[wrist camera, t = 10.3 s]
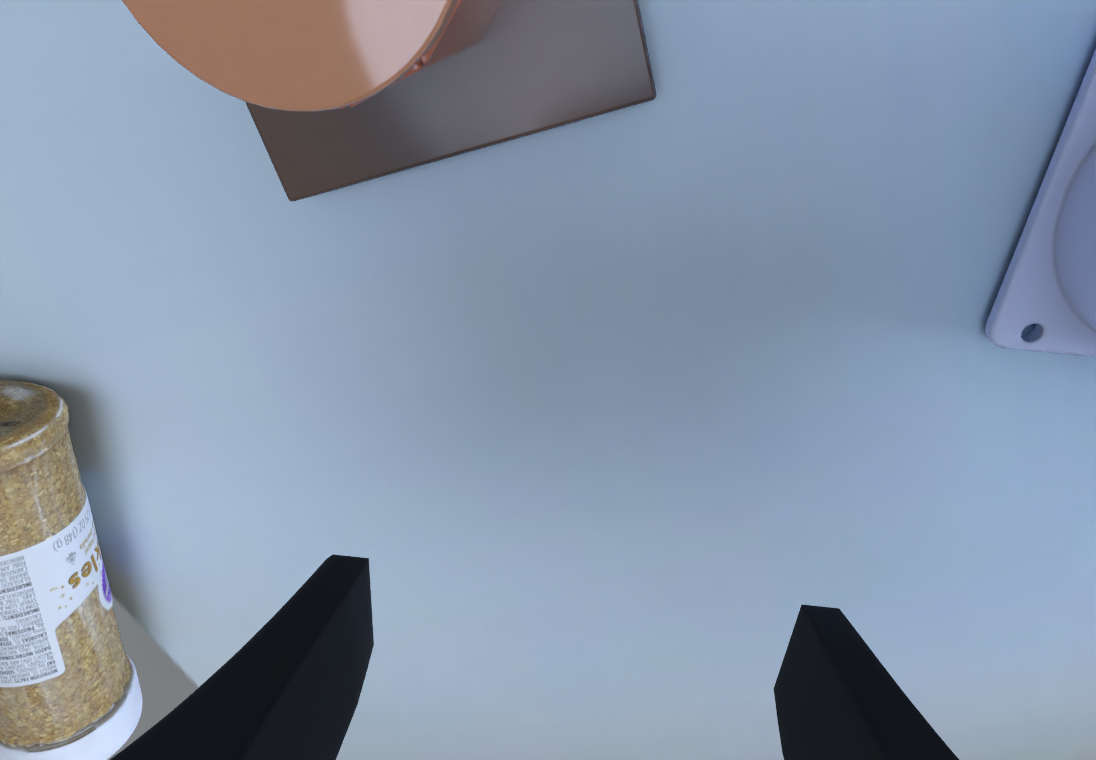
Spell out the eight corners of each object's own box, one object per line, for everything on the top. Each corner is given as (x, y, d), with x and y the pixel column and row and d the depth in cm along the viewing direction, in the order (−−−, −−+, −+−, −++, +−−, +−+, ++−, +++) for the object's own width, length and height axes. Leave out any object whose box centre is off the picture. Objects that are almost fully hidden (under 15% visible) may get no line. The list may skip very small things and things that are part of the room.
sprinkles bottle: (82, 369, 23) (154, 666, 29) (-97, 378, 21) (20, 687, 28) (39, 455, 19) (132, 774, 25) (-182, 471, 17) (-24, 804, 24)
